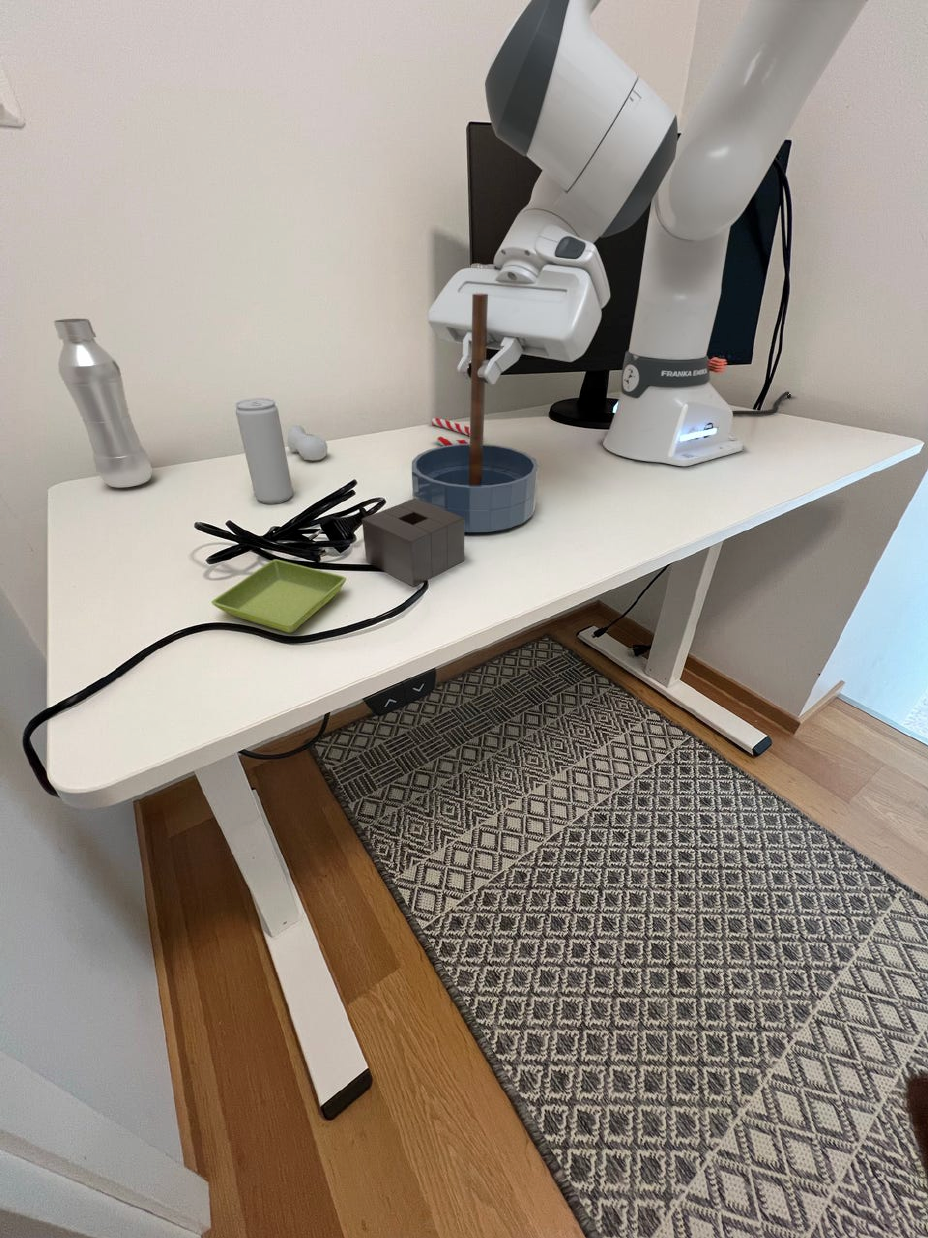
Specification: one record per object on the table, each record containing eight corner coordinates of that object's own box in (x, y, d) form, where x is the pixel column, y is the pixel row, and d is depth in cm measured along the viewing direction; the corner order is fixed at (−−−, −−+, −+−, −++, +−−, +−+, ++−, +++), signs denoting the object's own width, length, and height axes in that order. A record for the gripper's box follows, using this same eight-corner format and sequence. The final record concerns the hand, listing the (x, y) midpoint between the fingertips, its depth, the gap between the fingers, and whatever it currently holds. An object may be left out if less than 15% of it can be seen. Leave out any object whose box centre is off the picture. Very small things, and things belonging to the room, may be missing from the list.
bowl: (502, 480, 77) (504, 438, 73) (556, 524, 65) (561, 476, 62) (399, 496, 72) (396, 451, 69) (437, 546, 61) (436, 495, 57)
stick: (478, 480, 67) (484, 293, 56) (483, 484, 66) (490, 294, 55) (466, 481, 67) (469, 293, 55) (472, 486, 66) (476, 294, 54)
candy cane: (449, 414, 100) (490, 436, 89) (449, 421, 101) (490, 444, 90) (410, 420, 97) (448, 443, 86) (410, 427, 98) (448, 451, 87)
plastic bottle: (129, 473, 78) (72, 315, 67) (167, 479, 77) (116, 318, 65) (92, 489, 73) (23, 322, 62) (132, 496, 72) (69, 325, 60)
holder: (417, 538, 62) (415, 497, 59) (464, 560, 58) (464, 517, 55) (366, 561, 58) (361, 518, 55) (413, 587, 54) (411, 542, 51)
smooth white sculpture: (332, 468, 84) (300, 464, 81) (312, 452, 89) (281, 448, 86) (336, 440, 82) (304, 435, 79) (316, 426, 87) (285, 421, 84)
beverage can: (257, 507, 69) (234, 409, 62) (254, 493, 73) (232, 399, 66) (296, 501, 70) (278, 405, 63) (291, 488, 74) (274, 396, 67)
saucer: (350, 595, 52) (348, 576, 51) (294, 646, 46) (289, 626, 45) (278, 576, 55) (274, 558, 54) (214, 621, 49) (208, 602, 47)
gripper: (452, 241, 62) (393, 345, 62) (610, 246, 51) (540, 372, 51) (476, 284, 68) (422, 381, 67) (624, 297, 57) (561, 412, 56)
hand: (474, 377), depth 59 cm, fingers closed on stick, 1 cm apart
